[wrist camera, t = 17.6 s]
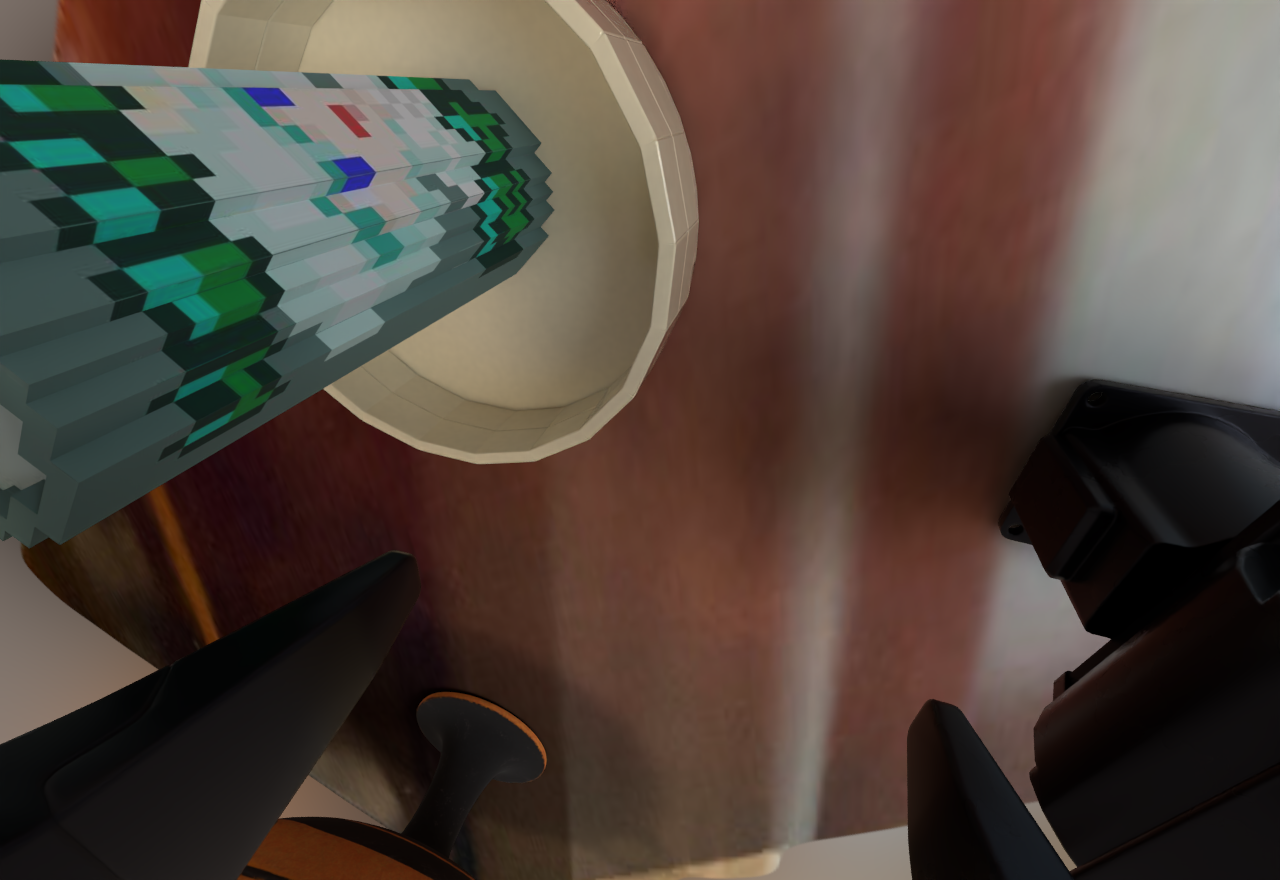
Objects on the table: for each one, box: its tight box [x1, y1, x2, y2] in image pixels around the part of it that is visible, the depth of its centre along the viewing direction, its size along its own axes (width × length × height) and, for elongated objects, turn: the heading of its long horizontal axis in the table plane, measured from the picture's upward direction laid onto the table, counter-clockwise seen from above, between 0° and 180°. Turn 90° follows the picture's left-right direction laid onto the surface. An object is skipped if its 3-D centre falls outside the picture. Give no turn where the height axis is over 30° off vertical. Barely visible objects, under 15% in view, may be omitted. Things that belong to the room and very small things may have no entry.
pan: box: [188, 0, 699, 464], centre depth 19 cm, size 16×16×4 cm
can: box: [0, 60, 554, 548], centre depth 13 cm, size 6×6×15 cm
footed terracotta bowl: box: [237, 692, 547, 880], centre depth 34 cm, size 36×26×18 cm
